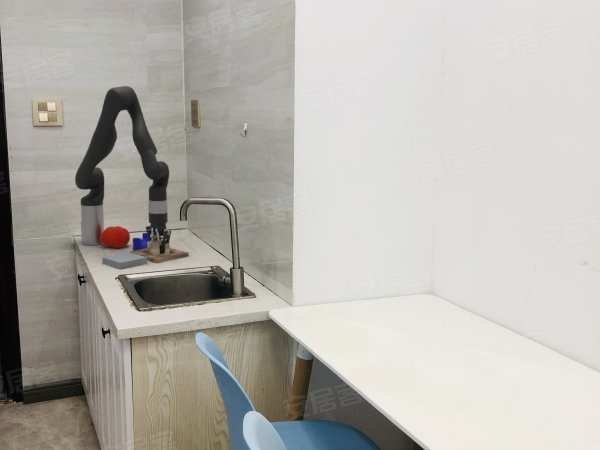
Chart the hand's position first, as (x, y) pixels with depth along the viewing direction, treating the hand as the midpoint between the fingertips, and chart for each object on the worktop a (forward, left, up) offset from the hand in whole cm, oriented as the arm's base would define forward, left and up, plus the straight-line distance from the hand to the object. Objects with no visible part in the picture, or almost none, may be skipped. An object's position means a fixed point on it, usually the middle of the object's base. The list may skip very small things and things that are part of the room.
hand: (158, 252), depth 254 cm
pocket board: (0, 0, -1) cm, 1 cm away
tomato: (-26, -3, -2) cm, 26 cm away
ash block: (0, 0, -1) cm, 1 cm away
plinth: (+1, -17, -1) cm, 17 cm away
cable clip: (-15, +2, -2) cm, 15 cm away
